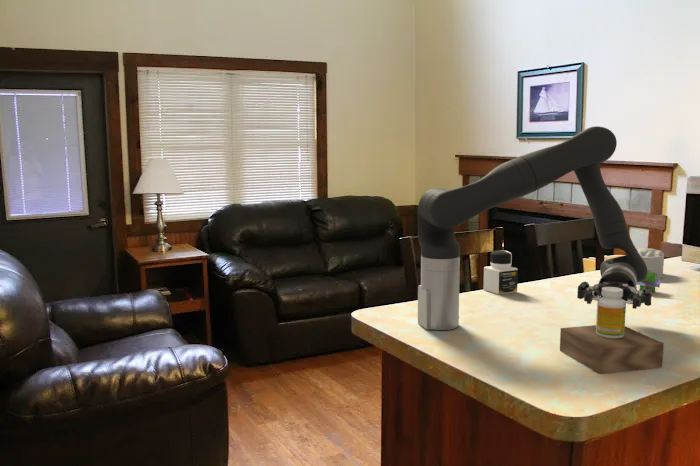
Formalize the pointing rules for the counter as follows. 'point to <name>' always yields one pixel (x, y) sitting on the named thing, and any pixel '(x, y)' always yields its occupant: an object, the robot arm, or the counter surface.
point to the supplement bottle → (611, 313)
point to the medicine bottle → (500, 274)
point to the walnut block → (611, 350)
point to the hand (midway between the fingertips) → (611, 301)
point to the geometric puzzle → (650, 281)
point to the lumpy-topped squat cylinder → (653, 260)
